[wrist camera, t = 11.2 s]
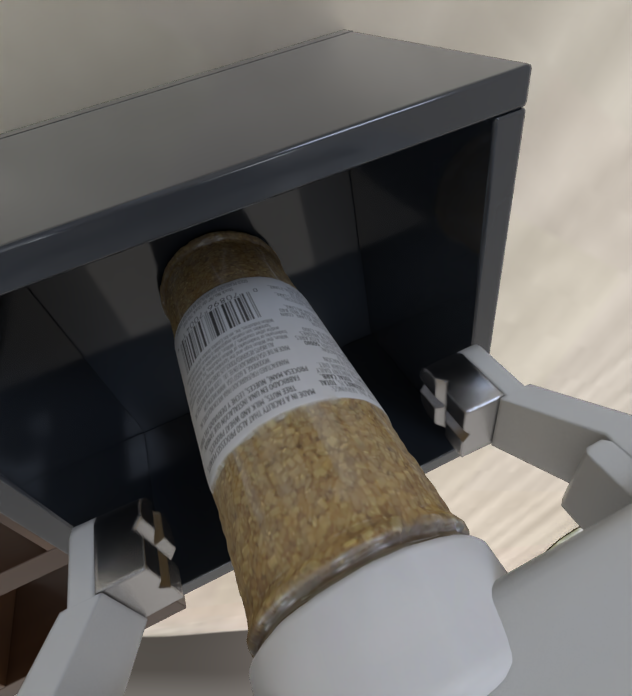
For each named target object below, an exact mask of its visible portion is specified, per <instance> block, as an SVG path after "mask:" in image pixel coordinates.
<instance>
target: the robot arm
mask: <svg viewBox="0 0 632 696" xmlns="http://www.w3.org/2000/svg"><path fill="white" fill-rule="evenodd" d="M420 379H421V381H422V382H423V383H424V385H423V387H422V388H421V390H420V393H421V401H422V403H423V406H424V409H425V410H426V412H427V414H428V415H429V417H430V418H431V419H432V421H433V422H434V423H435V424H437V425H440V426H443V427H445V437H446V438H447V440H448V441H449V442H450V443H451V445H452V446H453V447H454V448H455V450H456V451H457V452H458V453H459V455H460V456H461V457H463V456H465V455H467V454H469V453H472V452H474V451H476V450H478V449H480V448H482V447H484V446H487V445H489V444H491V443H492V446H495V447H497V448H499V449H501V450H503V451H505V452H507V453H509V454H511V455H513V456H515V457H517V458H519V459H521V460H523V461H525V462H527V463H529V464H531V465H533V466H535V467H537V468H539V469H541V470H544V471H546V472H548V473H550V474H552V475H554V476H556V477H558V478H560V479H562V480H564V481H566V482H568V483H569V485H568V487H567V489H566V492H565V494H564V496H563V498H562V504H561V506H562V507H563V508H564V509H565V510H566V511H567V513H568V514H569V515H570V516H571V517H572V518H573V519H574V520H575V522H576V523H577V524H578V525H579V526H580V527H581V528H582V529H583V531H581V532H580V533H578V534H576V535H574V536H572V537H571V538H569V539H567V540H565V541H564V542H562V543H560V544H558V545H556V546H555V547H553V548H551V549H549V550H548V551H546V552H544V553H542V554H541V555H539V556H537V557H535V558H533V559H532V560H530V561H528V562H526V563H525V564H523V565H521V566H519V567H517V568H516V569H514V570H512V571H510V572H509V573H507V574H505V575H503V576H502V577H500V578H498V579H496V580H495V582H494V584H493V586H492V599H493V602H494V605H495V607H496V610H497V612H498V615H499V617H500V620H501V622H502V625H503V627H504V630H505V633H506V636H507V638H508V642H509V646H510V650H511V652H512V665H511V667H510V669H509V671H508V673H507V675H506V677H505V679H504V680H503V681H502V682H501V683H500V684H499V685H498V687H497V688H495V689H494V690H493V691H492V692H491V693H490V694H488V695H487V696H632V415H630V414H627V413H623V412H620V411H617V410H614V409H610V408H607V407H604V406H600V405H597V404H594V403H591V402H587V401H584V400H581V399H577V398H574V397H571V396H568V395H564V394H561V393H558V392H554V391H551V390H548V389H545V388H541V387H538V386H535V385H532V384H529V385H527V386H524V385H523V384H522V383H521V382H519V381H518V380H517V379H516V378H515V377H514V376H513V375H512V374H511V373H509V372H508V371H507V370H506V369H505V368H504V367H503V366H502V365H501V364H499V363H498V362H497V361H496V360H495V359H494V358H493V357H492V356H491V355H490V354H488V353H487V352H486V351H485V350H484V349H483V348H482V347H481V346H479V345H476V344H475V345H472V346H470V347H468V348H466V349H463V350H461V351H459V352H457V353H453V354H451V355H449V356H447V357H445V358H443V359H441V360H439V361H437V362H435V363H433V364H430V365H428V366H426V367H424V368H422V370H421V371H420ZM175 550H176V546H175V541H174V536H173V533H172V530H171V527H170V524H169V523H168V521H167V519H166V518H165V516H164V515H163V514H162V513H161V512H159V511H152V504H151V502H150V501H149V500H148V499H146V498H145V497H142V498H139V499H137V500H135V501H133V502H130V503H128V504H126V505H124V506H121V507H119V508H117V509H114V510H112V511H110V512H108V513H105V514H103V515H101V516H98V517H96V518H94V519H91V520H89V521H87V522H85V523H83V524H80V525H78V526H76V527H74V528H73V529H72V532H71V534H70V537H69V562H68V592H67V609H65V610H64V611H62V612H60V613H59V615H58V617H57V619H56V621H55V623H54V624H53V626H52V628H51V630H50V632H49V634H48V636H47V638H46V640H45V642H44V644H43V646H42V648H41V649H40V651H39V653H38V655H37V657H36V659H35V661H34V663H33V665H32V667H31V669H30V671H29V672H28V674H27V676H26V678H25V680H24V682H23V684H22V686H21V688H20V690H19V692H18V694H17V696H124V693H125V690H126V686H127V684H128V680H129V677H130V674H131V671H132V667H133V664H134V661H135V658H136V655H137V651H138V648H139V645H140V642H141V639H142V635H143V632H144V629H145V626H146V623H147V618H146V617H147V616H149V615H151V614H153V613H155V612H157V611H158V610H160V609H162V608H164V607H166V606H168V605H170V604H172V603H173V602H175V601H177V600H179V599H181V598H183V591H182V584H181V578H180V571H179V567H178V566H177V565H175V564H174V563H173V562H172V561H171V559H172V557H173V554H174V552H175Z"/></svg>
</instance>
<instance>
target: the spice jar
mask: <svg viewBox="0 0 632 696" xmlns="http://www.w3.org/2000/svg"><path fill="white" fill-rule="evenodd" d="M160 295H161V303H162V307H163V310H164V312H165V314H166V316H167V318H168V319H169V320H170V322H171V327H172V331H173V334H174V340H175V343H174V344H175V351H176V355H177V359H178V364H179V368H180V372H181V376H182V380H183V384H184V388H185V393H186V397H187V401H188V405H189V409H190V414H191V418H192V422H193V426H194V430H195V434H196V438H197V442H198V446H199V450H200V454H201V458H202V463H203V467H204V471H205V475H206V478H207V482H208V485H209V488H210V490H211V493H212V495H213V498H214V500H215V503H216V506H217V508H218V511H219V519H220V521H221V525H222V530H223V533H224V535H225V537H226V540H227V548H228V553H229V555H230V558H231V563H232V566H233V568H234V572H235V576H236V581H237V585H238V589H239V593H240V596H241V597H242V601H243V605H244V608H245V613H246V617H247V623H248V635H247V644H248V649H249V651H250V653H251V655H252V657H253V661H252V663H251V666H250V670H249V680H250V684H251V687H252V692H253V696H487V695H488V694H490V693H491V692H492V691H493V690H494V689H495V688H497V687H498V685H499V684H500V683H501V682H502V681H503V680H504V679H505V677H506V675H507V673H508V671H509V669H510V667H511V665H512V652H511V650H510V646H509V642H508V638H507V636H506V633H505V630H504V627H503V625H502V622H501V620H500V617H499V615H498V612H497V610H496V607H495V605H494V602H493V599H492V586H493V584H494V582H495V580H496V579H498V578H500V577H502V576H503V575H505V574H507V571H506V570H505V569H504V567H503V566H502V564H501V563H500V562H499V560H498V559H497V557H496V556H495V554H494V553H493V552H492V550H491V549H490V547H489V546H488V545H487V543H486V542H485V541H483V540H481V539H480V538H477V537H474V536H470V535H469V529H468V528H467V526H466V524H465V522H464V521H463V520H461V519H460V518H458V517H457V516H455V515H453V514H452V513H451V512H450V510H449V509H448V507H447V505H446V503H445V502H444V501H443V500H442V498H441V497H440V495H439V494H438V492H437V490H436V489H435V487H434V486H433V484H432V483H431V482H430V481H429V479H428V478H427V477H426V476H425V474H424V472H423V470H422V469H421V467H420V466H419V464H418V462H417V461H416V459H415V458H414V457H413V456H412V455H411V454H410V453H409V452H408V451H407V449H406V447H405V445H404V444H403V442H402V441H401V440H400V438H399V436H398V434H397V433H396V431H395V430H394V429H393V427H392V425H391V422H390V420H389V417H388V416H387V414H386V413H385V411H384V410H383V408H382V407H381V406H380V404H379V403H378V401H377V400H376V398H375V397H374V396H373V394H372V393H371V391H370V390H369V389H368V387H367V386H366V384H365V383H364V382H363V380H362V379H361V377H360V376H359V374H358V373H357V372H356V370H355V369H354V367H353V366H352V365H351V363H350V362H349V360H348V359H347V357H346V356H345V355H344V353H343V352H342V350H341V349H340V347H339V346H338V344H337V343H336V342H335V340H334V339H333V337H332V336H331V334H330V333H329V331H328V330H327V329H326V327H325V326H324V324H323V323H322V321H321V320H320V319H319V317H318V316H317V314H316V313H315V311H314V310H313V308H312V307H311V306H310V304H309V303H308V301H307V300H306V298H305V297H304V296H303V295H302V294H301V293H300V292H299V291H298V290H297V289H296V287H295V286H294V285H293V283H292V282H291V280H290V279H289V277H288V276H287V275H286V273H285V272H284V270H283V267H282V265H281V263H280V259H279V258H278V256H277V254H276V253H275V252H274V250H273V249H272V248H271V247H270V246H269V245H267V244H266V243H265V242H264V241H262V240H261V239H260V238H258V237H256V236H252V235H250V234H247V233H244V232H236V231H230V230H227V231H216V232H210V233H207V234H205V235H202V236H200V237H197V238H195V239H194V240H192V241H190V242H189V243H188V244H187V245H185V246H183V247H181V248H180V249H179V250H178V251H177V252H176V253H175V255H174V256H173V257H172V259H171V260H170V261H169V262H168V264H167V266H166V268H165V270H164V274H163V277H162V282H161V286H160Z"/></svg>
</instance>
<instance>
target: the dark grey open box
mask: <svg viewBox="0 0 632 696" xmlns="http://www.w3.org/2000/svg"><path fill="white" fill-rule="evenodd" d="M531 69H532V68H531V65H530V64H528V63H523V62H517V61H512V60H506V59H501V58H495V57H490V56H485V55H479V54H474V53H468V52H463V51H457V50H452V49H446V48H441V47H435V46H430V45H424V44H419V43H413V42H408V41H403V40H397V39H392V38H386V37H381V36H375V35H370V34H364V33H359V32H353V31H351V30H345V29H344V30H341V31H337V32H334V33H331V34H327V35H324V36H321V37H318V38H314V39H311V40H308V41H304V42H301V43H298V44H295V45H291V46H288V47H285V48H281V49H278V50H275V51H272V52H268V53H265V54H262V55H258V56H255V57H252V58H249V59H245V60H242V61H239V62H235V63H232V64H229V65H226V66H222V67H219V68H216V69H212V70H209V71H206V72H203V73H199V74H196V75H193V76H189V77H186V78H183V79H180V80H176V81H173V82H170V83H166V84H163V85H160V86H157V87H153V88H150V89H147V90H143V91H140V92H137V93H134V94H130V95H127V96H124V97H120V98H117V99H114V100H111V101H107V102H104V103H101V104H97V105H94V106H91V107H88V108H84V109H81V110H78V111H74V112H71V113H68V114H65V115H61V116H58V117H55V118H51V119H48V120H45V121H42V122H38V123H35V124H32V125H28V126H25V127H22V128H19V129H15V130H12V131H9V132H5V133H2V134H0V513H1V514H3V515H4V516H6V517H8V518H9V519H11V520H13V521H14V522H16V523H17V524H19V525H21V526H22V527H24V528H25V529H27V530H29V531H30V532H32V533H33V534H35V535H37V536H38V537H40V538H42V539H43V540H45V541H46V542H48V543H50V544H51V545H53V546H54V547H56V548H58V549H59V550H61V551H62V552H64V553H66V554H67V555H69V537H70V534H71V532H72V529H73V528H74V527H76V526H78V525H80V524H83V523H85V522H87V521H89V520H91V519H94V518H96V517H98V516H101V515H103V514H105V513H108V512H110V511H112V510H114V509H117V508H119V507H121V506H124V505H126V504H128V503H130V502H133V501H135V500H137V499H139V498H142V497H145V498H146V499H148V500H149V501H150V502H151V504H152V511H159V512H161V513H162V514H163V515H164V516H165V518H166V519H167V521H168V523H169V524H170V527H171V530H172V533H173V536H174V541H175V546H176V550H175V552H174V554H173V557H172V559H171V561H172V562H173V563H174V564H175V565H177V566H178V567H179V571H180V578H181V584H182V591H183V595H185V594H187V593H189V592H191V591H193V590H195V589H197V588H199V587H201V586H203V585H205V584H207V583H209V582H211V581H213V580H215V579H217V578H219V577H221V576H222V575H224V574H226V573H228V572H230V571H232V570H234V568H233V566H232V563H231V558H230V555H229V553H228V548H227V540H226V537H225V535H224V533H223V530H222V525H221V521H220V519H219V511H218V508H217V506H216V503H215V500H214V498H213V495H212V493H211V490H210V488H209V485H208V482H207V478H206V475H205V471H204V467H203V463H202V458H201V454H200V450H199V446H198V442H197V438H196V434H195V430H194V426H193V422H192V418H191V414H190V409H189V405H188V401H187V397H186V393H185V388H184V384H183V380H182V376H181V372H180V368H179V364H178V359H177V355H176V351H175V344H174V343H175V340H174V334H173V331H172V327H171V322H170V320H169V319H168V318H167V316H166V314H165V312H164V310H163V307H162V303H161V295H160V286H161V282H162V277H163V274H164V270H165V268H166V266H167V264H168V262H169V261H170V260H171V259H172V257H173V256H174V255H175V253H176V252H177V251H178V250H179V249H180V248H181V247H183V246H185V245H187V244H188V243H189V242H190V241H192V240H194V239H195V238H197V237H200V236H202V235H205V234H207V233H210V232H216V231H227V230H230V231H236V232H244V233H247V234H250V235H252V236H256V237H258V238H260V239H261V240H262V241H264V242H265V243H266V244H267V245H269V246H270V247H271V248H272V249H273V250H274V252H275V253H276V254H277V256H278V258H279V259H280V263H281V265H282V267H283V270H284V272H285V273H286V275H287V276H288V277H289V279H290V280H291V282H292V283H293V285H294V286H295V287H296V289H297V290H298V291H299V292H300V293H301V294H302V295H303V296H304V297H305V298H306V300H307V301H308V303H309V304H310V306H311V307H312V308H313V310H314V311H315V313H316V314H317V316H318V317H319V319H320V320H321V321H322V323H323V324H324V326H325V327H326V329H327V330H328V331H329V333H330V334H331V336H332V337H333V339H334V340H335V342H336V343H337V344H338V346H339V347H340V349H341V350H342V352H343V353H344V355H345V356H346V357H347V359H348V360H349V362H350V363H351V365H352V366H353V367H354V369H355V370H356V372H357V373H358V374H359V376H360V377H361V379H362V380H363V382H364V383H365V384H366V386H367V387H368V389H369V390H370V391H371V393H372V394H373V396H374V397H375V398H376V400H377V401H378V403H379V404H380V406H381V407H382V408H383V410H384V411H385V413H386V414H387V416H388V417H389V420H390V422H391V425H392V427H393V429H394V430H395V431H396V433H397V434H398V436H399V438H400V440H401V441H402V442H403V444H404V445H405V447H406V449H407V451H408V452H409V453H410V454H411V455H412V456H413V457H414V458H415V459H416V461H417V462H418V464H419V466H420V467H421V469H422V470H423V472H424V474H425V473H427V472H429V471H431V470H433V469H435V468H437V467H439V466H441V465H443V464H445V463H447V462H449V461H451V460H453V459H455V458H457V457H459V456H460V455H459V453H458V452H457V451H456V450H455V448H454V447H453V446H452V445H451V443H450V442H449V441H448V440H447V438H446V437H445V427H443V426H440V425H437V424H435V423H434V422H433V421H432V419H431V418H430V417H429V415H428V414H427V412H426V410H425V409H424V406H423V403H422V401H421V393H420V390H421V388H422V387H423V385H424V383H423V382H422V381H421V379H420V371H421V370H422V368H424V367H426V366H428V365H430V364H433V363H435V362H437V361H439V360H441V359H443V358H445V357H447V356H449V355H451V354H453V353H457V352H459V351H461V350H463V349H466V348H468V347H470V346H472V345H475V344H476V345H479V346H481V347H482V348H483V349H484V350H485V351H486V352H487V353H488V354H490V347H491V340H492V334H493V327H494V320H495V313H496V307H497V300H498V293H499V286H500V280H501V273H502V266H503V259H504V253H505V246H506V239H507V232H508V226H509V219H510V212H511V205H512V199H513V192H514V185H515V178H516V172H517V165H518V158H519V151H520V145H521V138H522V131H523V124H524V118H525V109H524V108H523V106H525V104H526V102H527V96H528V89H529V83H530V76H531Z"/></svg>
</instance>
